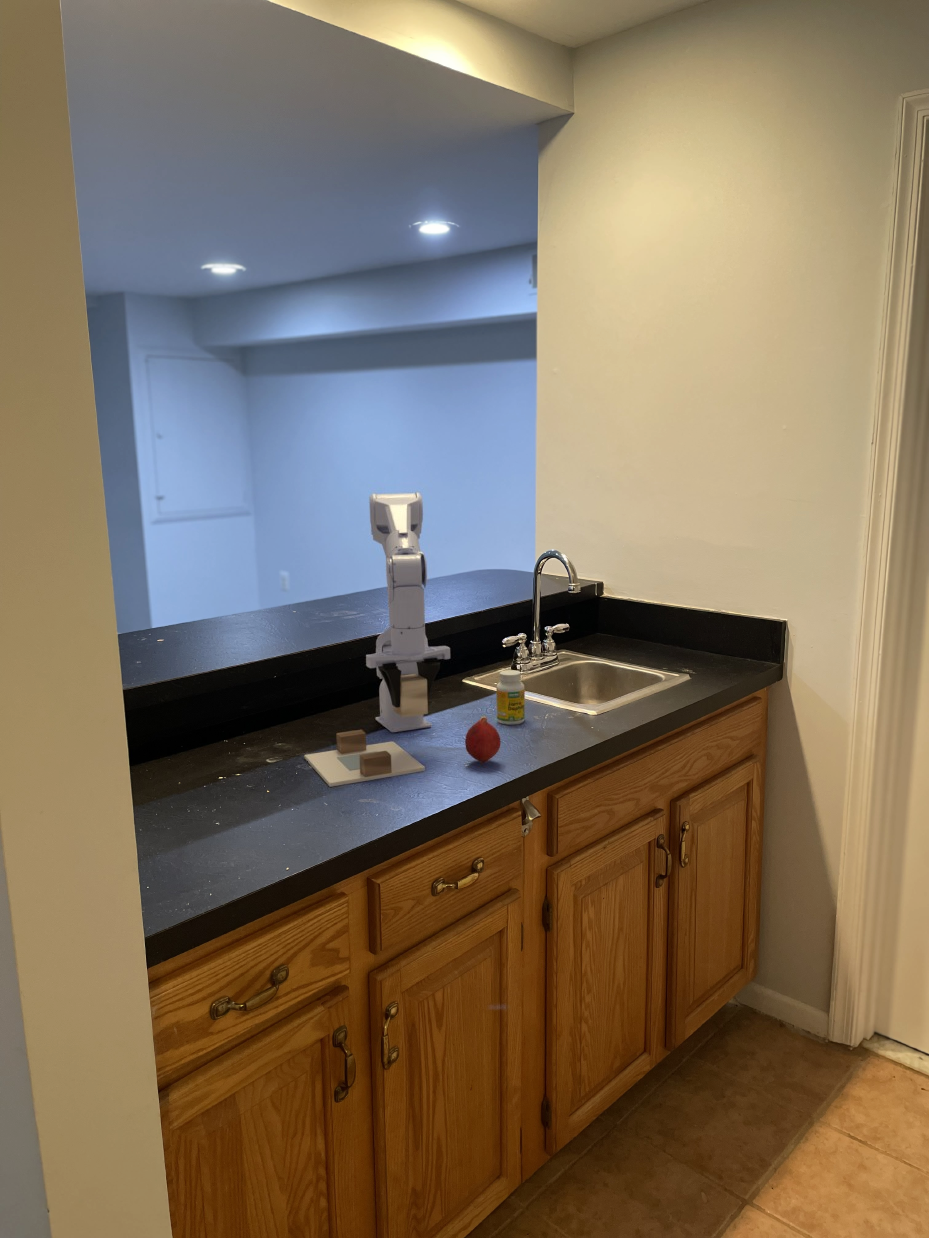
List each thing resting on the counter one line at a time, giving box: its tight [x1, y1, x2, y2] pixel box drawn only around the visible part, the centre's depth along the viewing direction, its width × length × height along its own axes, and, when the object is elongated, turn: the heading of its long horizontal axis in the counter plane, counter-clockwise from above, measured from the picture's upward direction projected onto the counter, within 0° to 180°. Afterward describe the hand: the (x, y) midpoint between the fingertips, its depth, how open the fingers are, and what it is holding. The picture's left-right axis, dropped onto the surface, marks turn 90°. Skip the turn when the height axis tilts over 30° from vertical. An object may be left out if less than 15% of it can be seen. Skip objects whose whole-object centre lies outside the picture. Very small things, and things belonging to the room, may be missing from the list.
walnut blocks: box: [335, 729, 392, 777], centre depth 156 cm, size 15×4×3 cm, turn 25°
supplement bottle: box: [496, 669, 526, 726], centre depth 178 cm, size 5×5×10 cm
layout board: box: [304, 740, 426, 788], centre depth 156 cm, size 15×16×1 cm
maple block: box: [393, 674, 429, 717], centre depth 159 cm, size 4×4×6 cm
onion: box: [464, 716, 502, 764], centre depth 155 cm, size 6×6×8 cm
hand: (410, 704), depth 159 cm, fingers closed on maple block, 4 cm apart
